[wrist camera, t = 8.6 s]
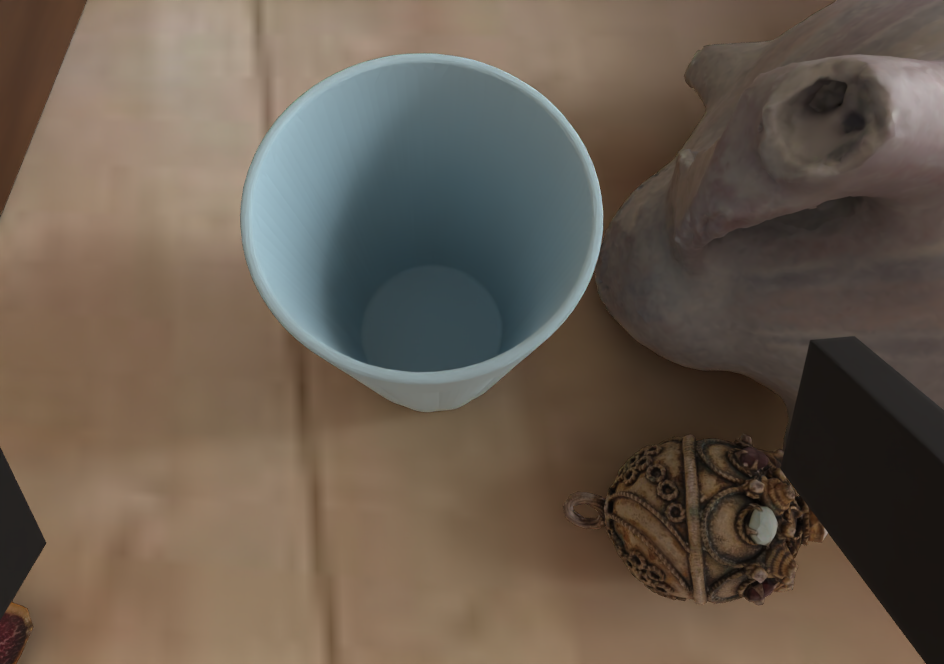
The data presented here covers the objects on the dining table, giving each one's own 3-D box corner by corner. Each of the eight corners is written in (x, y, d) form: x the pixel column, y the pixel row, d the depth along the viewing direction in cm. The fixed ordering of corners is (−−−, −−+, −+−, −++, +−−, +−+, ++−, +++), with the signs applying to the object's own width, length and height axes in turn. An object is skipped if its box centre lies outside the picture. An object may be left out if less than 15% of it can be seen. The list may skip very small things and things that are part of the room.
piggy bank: (606, 518, 21) (667, 76, 12) (571, 230, 33) (588, -106, 24) (1219, 521, 20) (1825, 31, 11) (956, 221, 32) (1135, -138, 23)
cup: (375, 484, 23) (323, 449, 13) (290, 289, 25) (186, 125, 15) (574, 389, 24) (667, 288, 14) (479, 209, 26) (502, 7, 16)
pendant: (846, 655, 18) (852, 504, 16) (563, 634, 21) (539, 499, 19) (810, 529, 23) (812, 398, 21) (581, 524, 25) (563, 406, 23)
